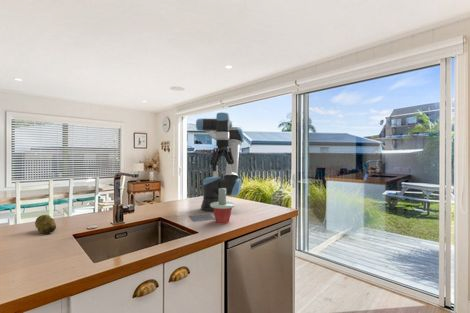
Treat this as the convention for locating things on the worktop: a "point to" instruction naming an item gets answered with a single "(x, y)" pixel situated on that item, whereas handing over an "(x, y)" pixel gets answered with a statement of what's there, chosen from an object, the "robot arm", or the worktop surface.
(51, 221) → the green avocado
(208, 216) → the mat
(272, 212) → the worktop surface
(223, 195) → the lid
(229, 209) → the flower pot
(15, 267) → the worktop surface
